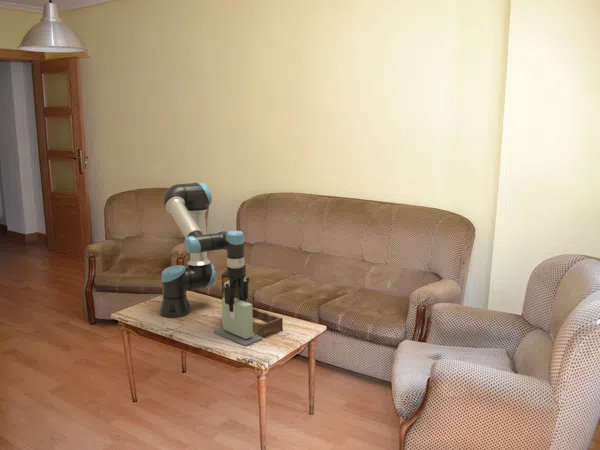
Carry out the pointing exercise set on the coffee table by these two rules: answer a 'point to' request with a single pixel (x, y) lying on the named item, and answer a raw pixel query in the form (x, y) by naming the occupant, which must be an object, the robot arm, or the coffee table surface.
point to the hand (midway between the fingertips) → (237, 316)
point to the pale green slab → (238, 318)
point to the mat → (238, 337)
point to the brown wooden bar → (258, 326)
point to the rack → (268, 322)
